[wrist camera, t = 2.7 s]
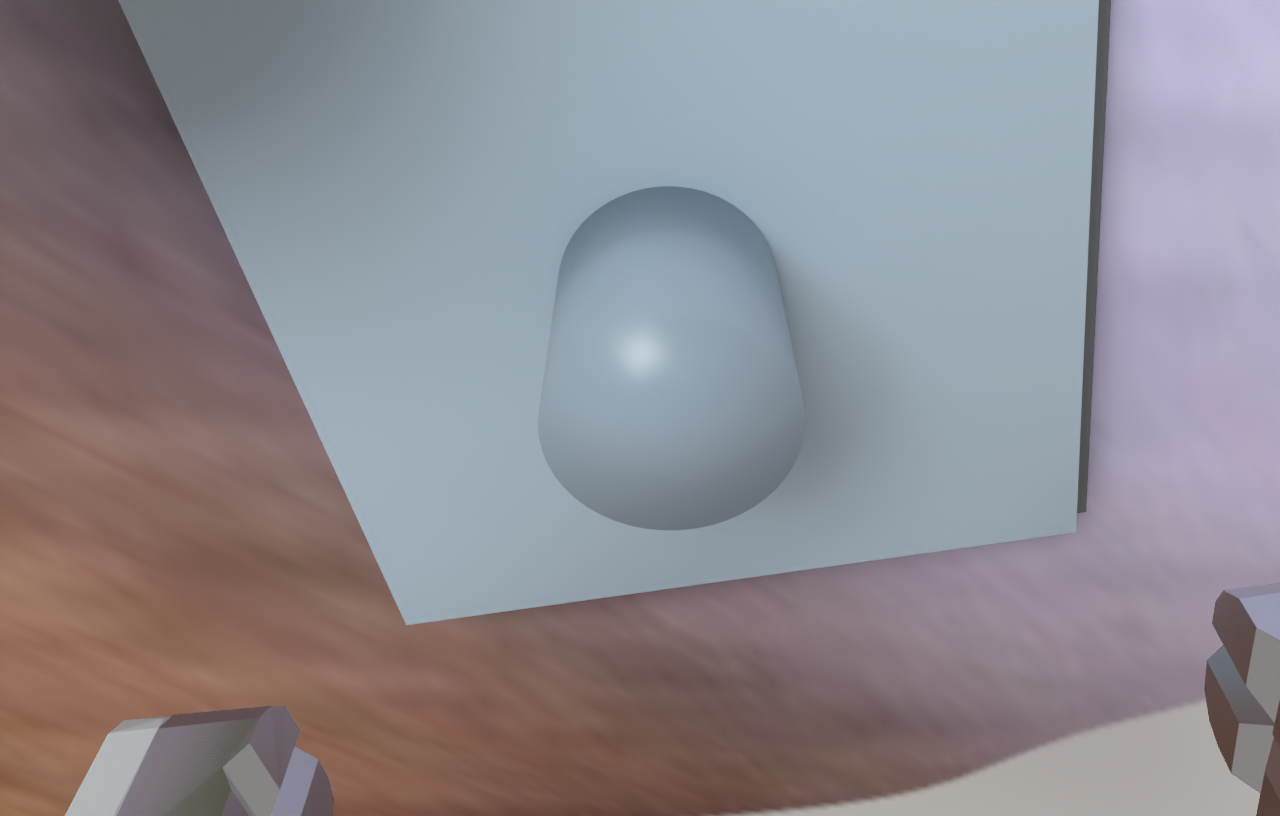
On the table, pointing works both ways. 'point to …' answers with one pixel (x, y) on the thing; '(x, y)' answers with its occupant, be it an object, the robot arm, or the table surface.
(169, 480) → the table surface
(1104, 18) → the mat
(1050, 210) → the lid
